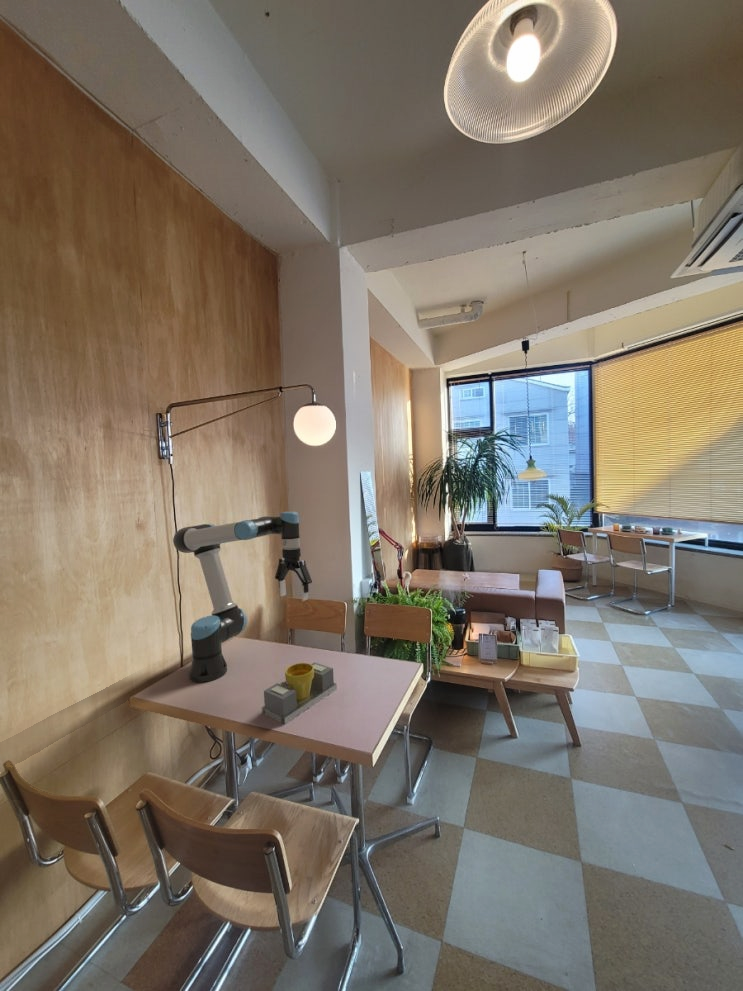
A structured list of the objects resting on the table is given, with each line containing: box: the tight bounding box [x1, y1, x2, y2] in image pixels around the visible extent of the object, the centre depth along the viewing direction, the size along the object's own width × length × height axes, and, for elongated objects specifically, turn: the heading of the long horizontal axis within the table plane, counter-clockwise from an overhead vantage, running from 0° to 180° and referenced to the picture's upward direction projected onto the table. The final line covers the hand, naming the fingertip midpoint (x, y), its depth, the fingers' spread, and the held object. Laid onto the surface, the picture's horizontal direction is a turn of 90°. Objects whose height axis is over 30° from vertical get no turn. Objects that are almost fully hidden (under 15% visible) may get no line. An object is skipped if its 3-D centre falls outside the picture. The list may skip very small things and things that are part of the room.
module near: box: [263, 683, 297, 716], centre depth 136 cm, size 10×6×6 cm, turn 54°
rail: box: [261, 682, 338, 725], centre depth 144 cm, size 12×26×2 cm, turn 144°
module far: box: [310, 662, 335, 690], centre depth 152 cm, size 10×6×6 cm, turn 54°
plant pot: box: [284, 662, 314, 700], centre depth 144 cm, size 10×10×10 cm
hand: (293, 597), depth 166 cm, fingers open, 13 cm apart
